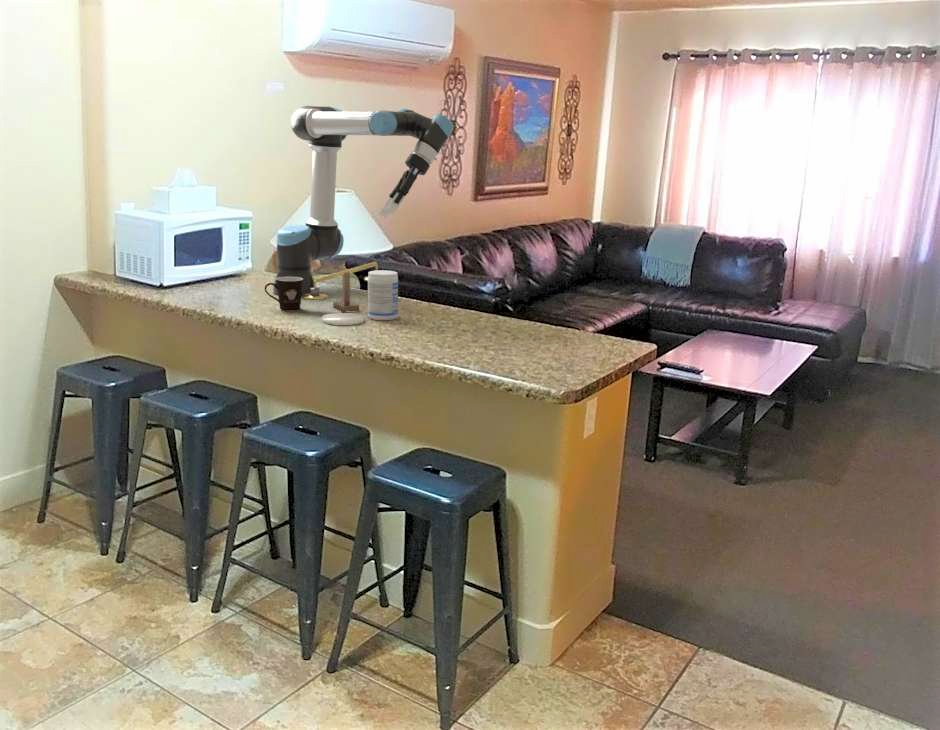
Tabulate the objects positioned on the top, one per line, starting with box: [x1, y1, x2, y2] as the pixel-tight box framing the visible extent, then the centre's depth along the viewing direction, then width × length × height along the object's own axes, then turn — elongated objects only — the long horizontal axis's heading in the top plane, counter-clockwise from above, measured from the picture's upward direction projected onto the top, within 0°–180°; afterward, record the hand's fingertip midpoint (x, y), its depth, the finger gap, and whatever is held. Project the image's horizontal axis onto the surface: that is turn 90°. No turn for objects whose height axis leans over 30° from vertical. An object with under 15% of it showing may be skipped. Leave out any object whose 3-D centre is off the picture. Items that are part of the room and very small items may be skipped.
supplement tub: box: [367, 269, 399, 321], centre depth 283 cm, size 10×10×15 cm
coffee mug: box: [264, 277, 303, 312], centre depth 292 cm, size 12×9×10 cm
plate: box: [321, 312, 365, 326], centre depth 278 cm, size 13×13×1 cm
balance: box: [301, 261, 379, 313], centre depth 293 cm, size 8×30×15 cm, turn 120°
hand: (385, 214), depth 286 cm, fingers open, 13 cm apart
